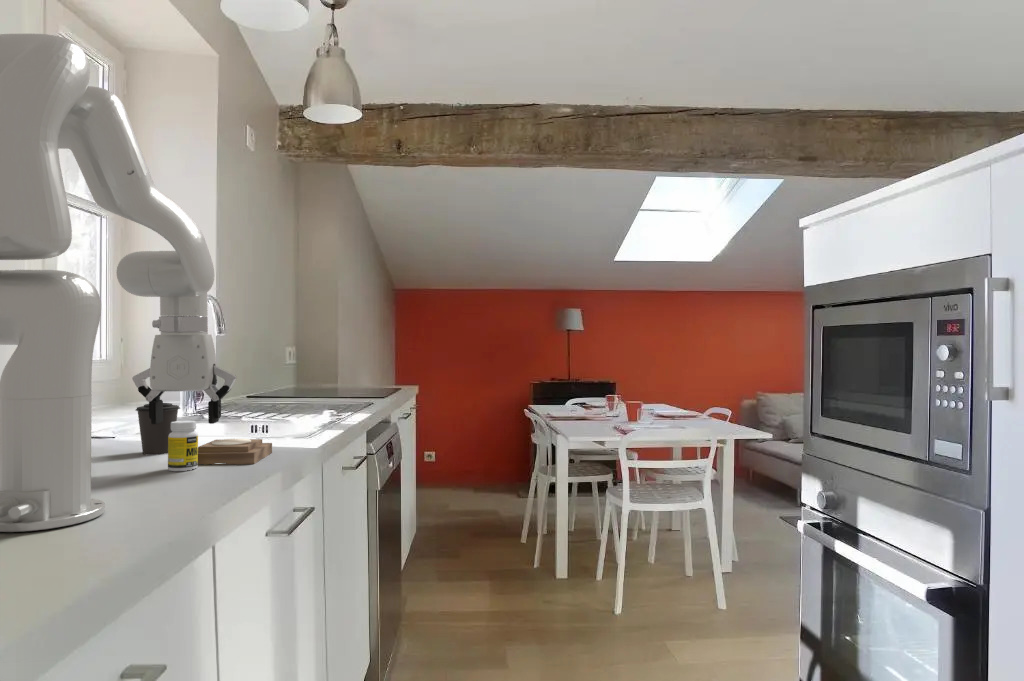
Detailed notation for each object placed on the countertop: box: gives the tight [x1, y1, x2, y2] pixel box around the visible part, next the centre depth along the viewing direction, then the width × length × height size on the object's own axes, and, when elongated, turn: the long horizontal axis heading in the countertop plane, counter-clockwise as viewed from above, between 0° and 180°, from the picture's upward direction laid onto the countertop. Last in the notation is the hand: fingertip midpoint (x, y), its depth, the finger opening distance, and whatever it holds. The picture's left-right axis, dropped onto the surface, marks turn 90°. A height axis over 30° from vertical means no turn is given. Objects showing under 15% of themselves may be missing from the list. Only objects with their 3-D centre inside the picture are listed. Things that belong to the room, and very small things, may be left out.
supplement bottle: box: [167, 420, 199, 472], centre depth 115 cm, size 5×5×8 cm
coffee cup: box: [135, 402, 181, 455], centre depth 132 cm, size 8×8×10 cm
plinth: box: [198, 438, 273, 465], centre depth 125 cm, size 12×12×3 cm
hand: (185, 422), depth 115 cm, fingers open, 9 cm apart
